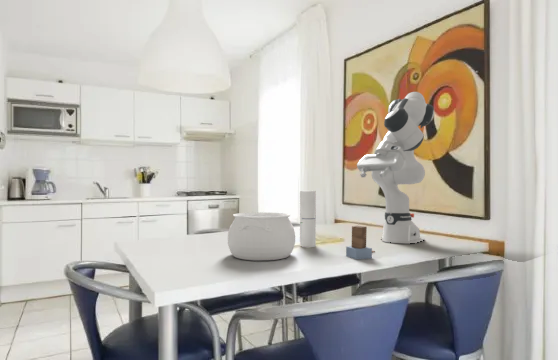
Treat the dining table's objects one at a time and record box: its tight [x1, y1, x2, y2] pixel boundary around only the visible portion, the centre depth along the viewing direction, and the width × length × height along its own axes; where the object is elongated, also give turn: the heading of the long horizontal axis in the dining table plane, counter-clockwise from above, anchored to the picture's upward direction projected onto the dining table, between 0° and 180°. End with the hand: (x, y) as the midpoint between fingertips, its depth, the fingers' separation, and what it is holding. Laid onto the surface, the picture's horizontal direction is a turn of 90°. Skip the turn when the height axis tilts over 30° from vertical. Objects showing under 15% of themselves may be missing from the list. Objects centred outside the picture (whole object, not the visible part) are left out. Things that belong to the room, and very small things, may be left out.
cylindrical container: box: [299, 190, 317, 248], centre depth 170 cm, size 7×7×25 cm
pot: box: [227, 212, 296, 262], centre depth 147 cm, size 29×26×16 cm
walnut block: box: [351, 225, 368, 249], centre depth 144 cm, size 4×4×8 cm
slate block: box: [345, 245, 373, 260], centre depth 144 cm, size 7×7×4 cm
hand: (371, 176), depth 153 cm, fingers open, 8 cm apart
